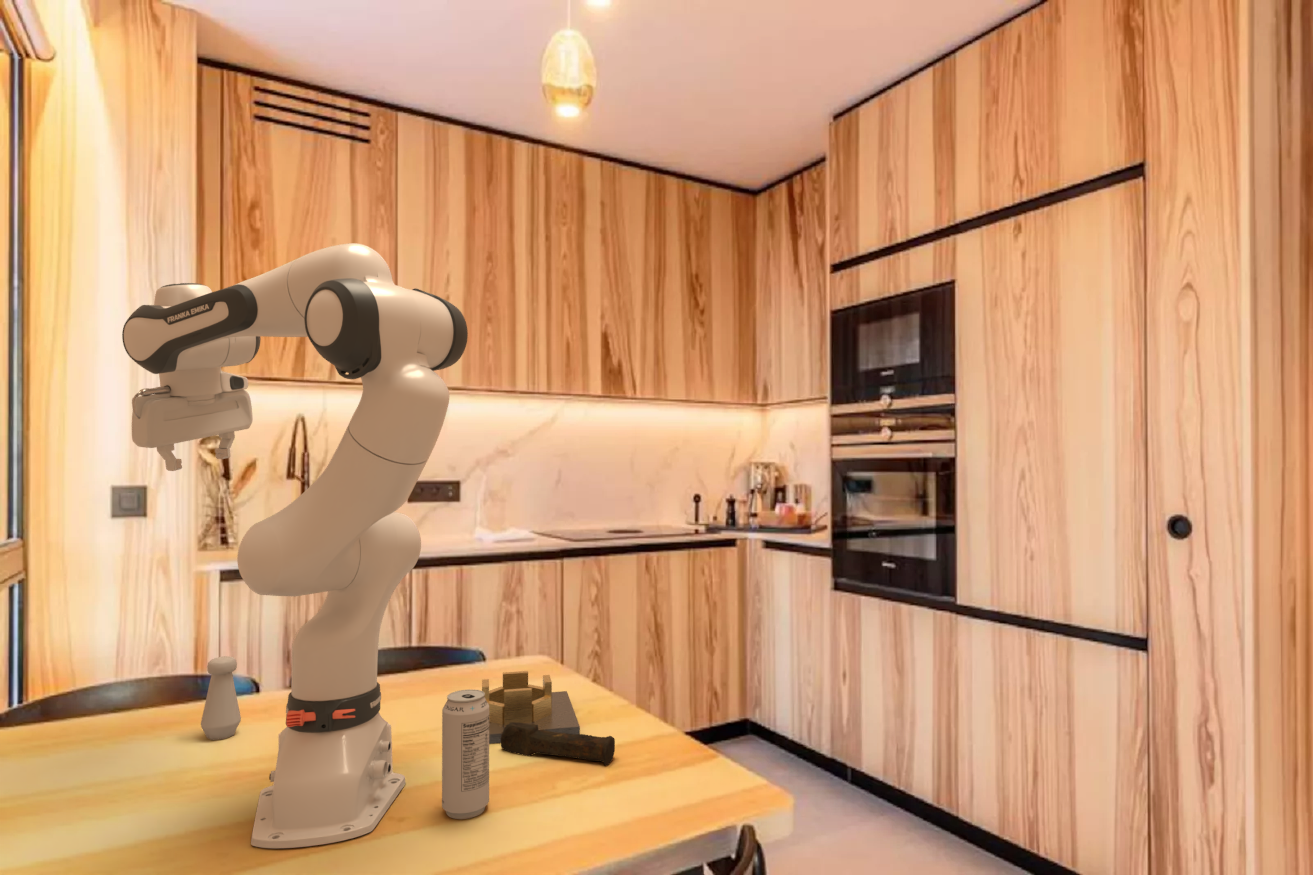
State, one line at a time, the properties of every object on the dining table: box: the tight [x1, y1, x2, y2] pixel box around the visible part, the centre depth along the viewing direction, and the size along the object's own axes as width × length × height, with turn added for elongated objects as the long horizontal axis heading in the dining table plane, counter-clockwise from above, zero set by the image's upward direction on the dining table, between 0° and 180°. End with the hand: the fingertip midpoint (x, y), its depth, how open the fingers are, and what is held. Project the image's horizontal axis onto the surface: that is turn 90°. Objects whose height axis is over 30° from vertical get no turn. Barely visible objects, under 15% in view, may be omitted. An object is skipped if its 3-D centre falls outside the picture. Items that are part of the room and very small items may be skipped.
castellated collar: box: [481, 670, 581, 745], centre depth 131 cm, size 20×20×7 cm
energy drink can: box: [441, 689, 490, 820], centre depth 97 cm, size 6×6×15 cm
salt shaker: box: [200, 655, 242, 741], centre depth 125 cm, size 6×6×13 cm
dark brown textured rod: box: [500, 722, 616, 767], centre depth 116 cm, size 19×4×5 cm, turn 71°
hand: (199, 463), depth 125 cm, fingers open, 8 cm apart
